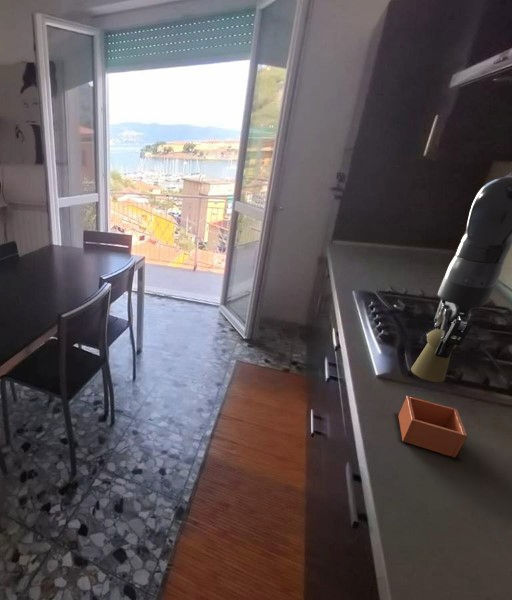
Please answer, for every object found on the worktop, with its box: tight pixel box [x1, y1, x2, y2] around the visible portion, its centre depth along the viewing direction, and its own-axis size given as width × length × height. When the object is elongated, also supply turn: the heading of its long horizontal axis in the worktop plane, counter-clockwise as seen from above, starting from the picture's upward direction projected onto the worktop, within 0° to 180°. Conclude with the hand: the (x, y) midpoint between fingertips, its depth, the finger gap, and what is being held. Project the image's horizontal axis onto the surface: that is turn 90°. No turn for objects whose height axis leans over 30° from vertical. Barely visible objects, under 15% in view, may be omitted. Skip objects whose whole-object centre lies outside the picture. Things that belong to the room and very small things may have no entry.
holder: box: [397, 395, 468, 459], centre depth 76 cm, size 9×9×6 cm
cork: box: [410, 329, 458, 383], centre depth 79 cm, size 6×6×11 cm
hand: (438, 349), depth 79 cm, fingers closed on cork, 5 cm apart
